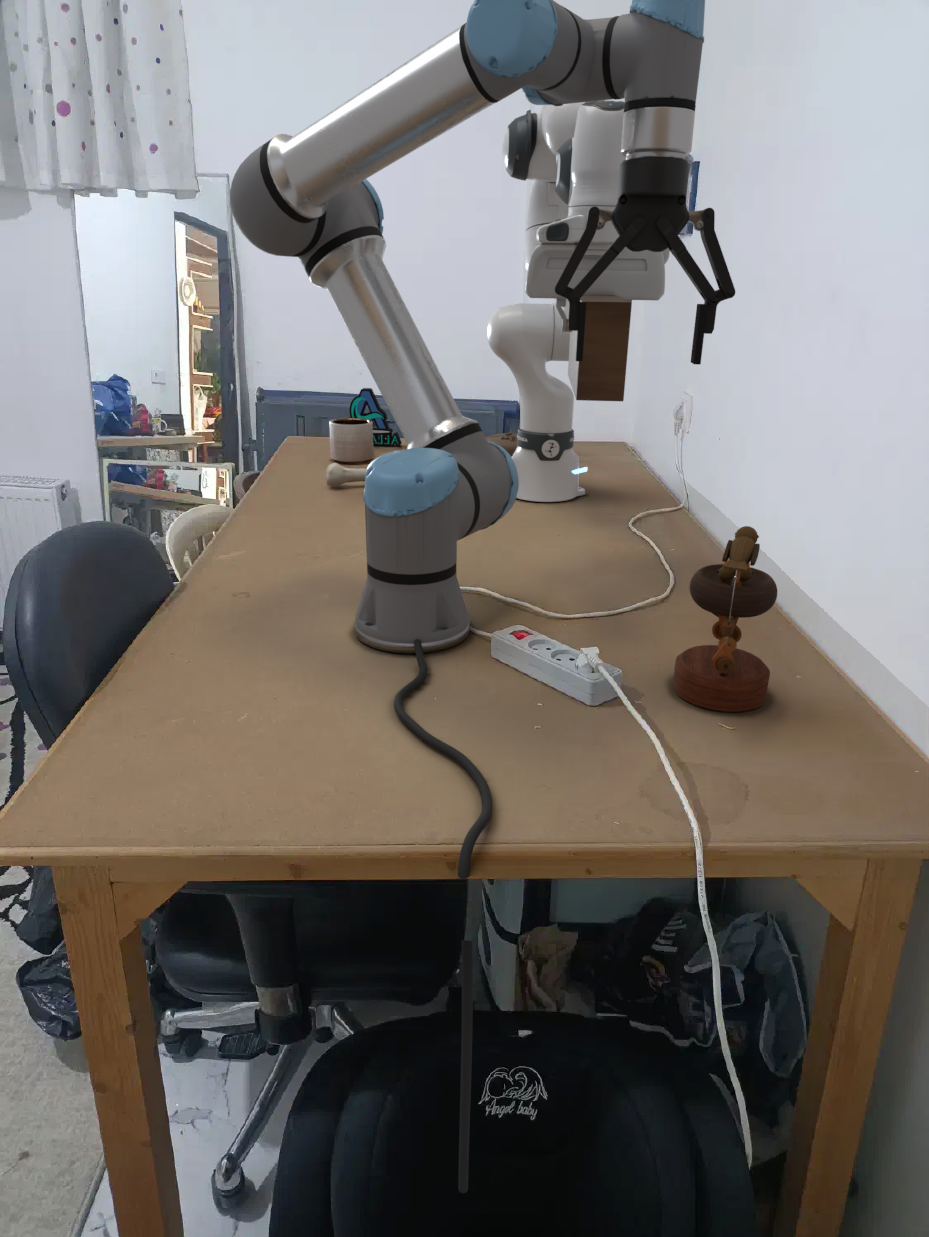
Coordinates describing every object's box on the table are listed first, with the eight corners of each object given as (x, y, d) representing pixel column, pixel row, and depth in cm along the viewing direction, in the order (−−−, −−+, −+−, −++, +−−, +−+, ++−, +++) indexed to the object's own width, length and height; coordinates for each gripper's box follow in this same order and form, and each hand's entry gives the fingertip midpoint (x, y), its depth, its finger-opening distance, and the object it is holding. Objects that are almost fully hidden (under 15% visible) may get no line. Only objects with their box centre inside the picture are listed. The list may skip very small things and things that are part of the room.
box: (623, 401, 108) (631, 302, 103) (576, 400, 108) (582, 301, 104) (606, 375, 132) (612, 294, 127) (567, 374, 132) (572, 293, 127)
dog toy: (415, 481, 193) (415, 459, 191) (418, 487, 188) (418, 465, 186) (325, 483, 190) (324, 461, 188) (326, 489, 184) (325, 466, 182)
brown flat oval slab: (485, 467, 208) (485, 449, 207) (478, 445, 234) (478, 430, 233) (570, 467, 209) (571, 450, 208) (554, 445, 235) (554, 430, 234)
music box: (784, 722, 91) (798, 544, 84) (680, 722, 93) (685, 548, 85) (755, 661, 105) (765, 505, 98) (665, 663, 107) (668, 509, 99)
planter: (327, 456, 217) (325, 418, 214) (369, 454, 220) (368, 417, 217) (334, 465, 208) (332, 425, 204) (377, 463, 211) (376, 424, 207)
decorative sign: (401, 444, 234) (401, 388, 228) (400, 446, 231) (399, 390, 226) (333, 442, 235) (331, 387, 229) (332, 444, 232) (329, 388, 227)
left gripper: (764, 163, 94) (738, 361, 102) (540, 162, 96) (532, 356, 104) (781, 154, 87) (751, 367, 95) (539, 153, 89) (530, 362, 98)
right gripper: (668, 232, 123) (658, 331, 129) (527, 230, 124) (523, 329, 130) (675, 230, 117) (664, 335, 123) (527, 228, 119) (523, 332, 124)
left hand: (636, 362), depth 100 cm, fingers open, 13 cm apart
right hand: (591, 332), depth 126 cm, fingers closed on box, 6 cm apart
